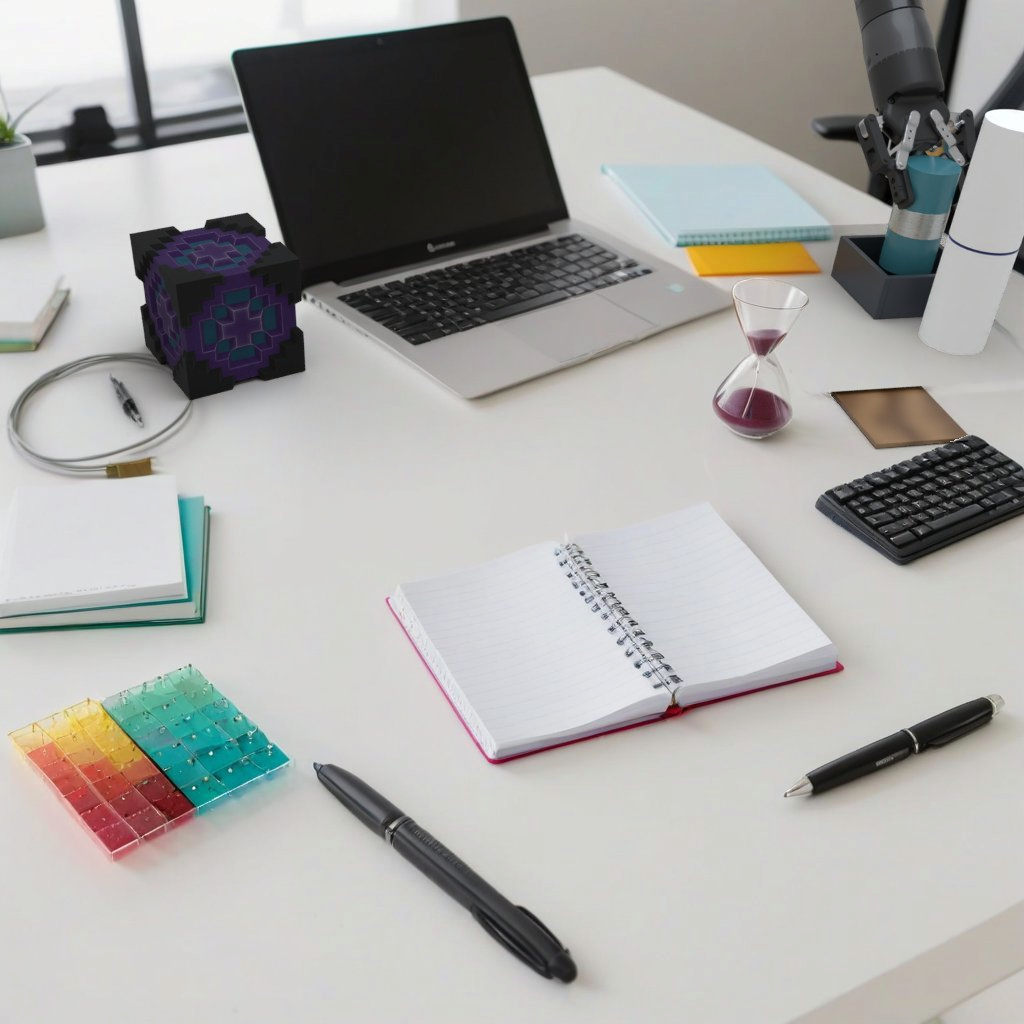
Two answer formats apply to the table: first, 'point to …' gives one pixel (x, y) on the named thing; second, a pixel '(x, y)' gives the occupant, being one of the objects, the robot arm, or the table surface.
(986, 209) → the cylindrical container
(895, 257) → the can
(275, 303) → the energy cube
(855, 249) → the tub
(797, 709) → the table surface
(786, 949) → the table surface
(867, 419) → the coaster
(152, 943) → the table surface
